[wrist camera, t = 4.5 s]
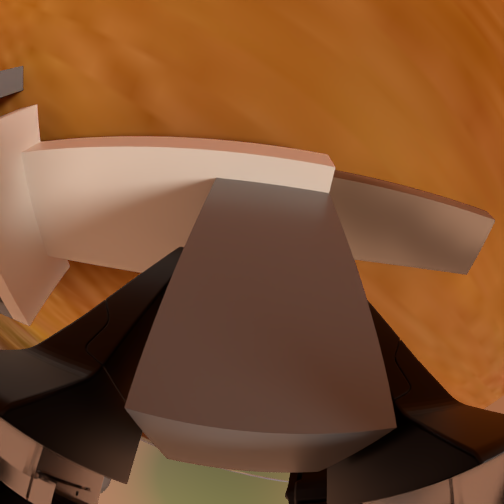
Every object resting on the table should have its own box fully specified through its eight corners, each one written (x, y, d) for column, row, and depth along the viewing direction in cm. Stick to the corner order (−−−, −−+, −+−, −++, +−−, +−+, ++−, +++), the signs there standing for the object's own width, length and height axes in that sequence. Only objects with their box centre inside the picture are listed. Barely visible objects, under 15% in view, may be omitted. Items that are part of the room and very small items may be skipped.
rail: (459, 264, 14) (466, 274, 14) (201, 228, 14) (197, 239, 13) (486, 211, 12) (495, 220, 11) (203, 152, 12) (198, 159, 11)
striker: (290, 300, 15) (292, 482, 7) (53, 263, 15) (-22, 381, 7) (337, 106, 9) (537, 282, 1) (19, 108, 9) (-128, 203, 1)
